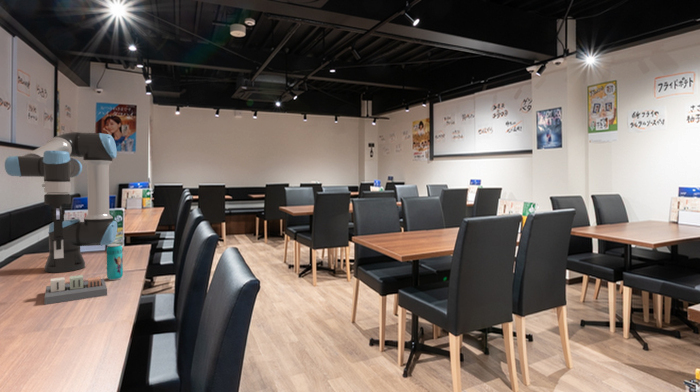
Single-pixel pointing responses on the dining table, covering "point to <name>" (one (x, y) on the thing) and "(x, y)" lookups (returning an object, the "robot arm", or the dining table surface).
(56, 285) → the cream cube
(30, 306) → the dining table surface
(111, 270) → the beverage can
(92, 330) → the dining table surface
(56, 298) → the tile board
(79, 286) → the tile two bar
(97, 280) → the orange cube
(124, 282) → the dining table surface
